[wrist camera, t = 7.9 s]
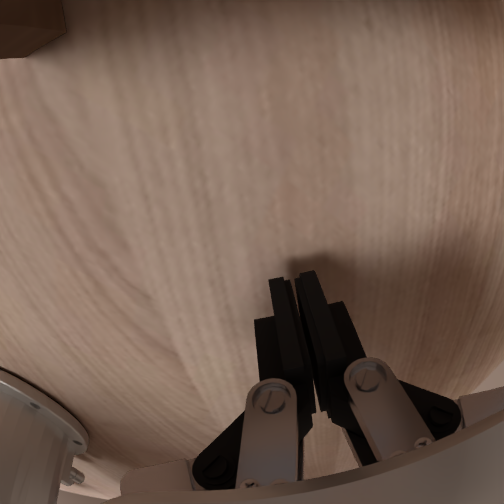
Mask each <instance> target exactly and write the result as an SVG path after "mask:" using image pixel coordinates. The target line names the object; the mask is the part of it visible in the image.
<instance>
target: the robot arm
mask: <svg viewBox="0 0 504 504" xmlns="http://www.w3.org/2000/svg"><path fill="white" fill-rule="evenodd" d="M299 276H300V277H299V278H295V287H296V293H297V300H298V307H299V312H298V308H297V305H296V301H295V297H294V293H293V289H292V286H291V282H290V280H285V281H284V278H283V277H279V278H274V279H270V280H268V281H269V287H270V293H271V299H272V305H273V310H274V316H271V317H265V318H260V319H255V320H254V326H255V337H256V347H257V358H258V368H259V378H260V382H259V383H257V384H256V385H255V386H253V387H252V388H251V390H250V391H249V393H248V395H247V399H246V406H245V411H244V412H243V413H242V414H241V415H240V416H239V417H238V418H237V419H236V420H235V421H234V422H233V423H232V424H231V425H230V426H229V427H228V428H227V429H225V430H224V431H223V432H222V433H221V434H220V435H219V436H218V437H217V438H216V439H215V440H214V441H213V442H212V443H211V444H210V445H209V446H208V447H207V448H205V449H204V450H203V451H202V452H201V453H200V454H199V455H198V456H197V458H194V459H190V460H186V459H181V460H176V461H172V462H168V463H163V464H158V465H153V466H148V467H143V468H137V469H133V470H130V471H128V472H127V473H126V474H125V475H124V476H123V478H122V480H121V484H120V490H121V496H119V497H116V498H113V499H110V500H107V501H105V502H103V503H101V504H504V386H503V387H499V388H496V389H492V390H488V391H483V392H479V393H474V394H469V395H464V396H460V397H459V398H458V399H456V400H451V399H449V398H447V397H444V396H441V395H438V394H436V393H433V392H430V391H427V390H424V389H422V388H419V387H416V386H414V385H411V384H408V383H406V382H403V381H400V380H398V379H397V378H396V376H395V375H394V373H393V372H392V370H391V369H390V367H389V366H388V365H387V364H386V363H385V362H383V361H382V360H380V359H377V358H372V357H369V358H367V357H366V355H365V352H364V350H363V347H362V345H361V342H360V340H359V337H358V335H357V332H356V330H355V328H354V325H353V323H352V321H351V318H350V316H349V313H348V311H347V309H346V306H345V304H344V302H342V301H341V302H336V303H332V304H327V301H326V299H325V296H324V293H323V291H322V288H321V285H320V283H319V280H318V278H317V275H316V272H315V271H314V270H313V271H308V272H304V273H300V274H299ZM299 314H300V316H299ZM313 380H314V384H313ZM314 385H315V389H316V393H317V397H318V402H319V406H320V410H321V412H323V411H327V414H328V418H331V420H332V422H333V423H335V424H337V425H339V426H341V427H342V431H343V433H344V435H345V437H346V440H347V442H348V444H349V446H350V448H351V451H352V453H353V455H354V457H355V459H356V462H357V464H358V466H359V468H356V469H353V470H349V471H345V472H341V473H336V474H332V475H328V476H323V477H318V478H313V479H308V480H304V437H305V436H306V434H307V433H308V432H309V431H310V429H311V428H312V427H313V423H312V414H314V413H316V405H315V394H314ZM88 443H89V437H88V434H87V432H86V430H85V429H84V427H83V426H82V425H81V424H80V423H79V421H78V420H77V419H75V418H74V417H73V416H72V415H71V414H70V413H69V412H68V411H66V410H65V409H64V408H63V407H61V406H60V405H59V404H58V403H56V402H55V401H53V400H52V399H50V398H49V397H48V396H46V395H45V394H43V393H42V392H40V391H38V390H37V389H35V388H34V387H32V386H31V385H29V384H27V383H25V382H24V381H22V380H20V379H18V378H17V377H15V376H13V375H11V374H9V373H7V372H5V371H2V370H0V504H57V498H58V493H59V488H60V483H62V484H64V485H66V486H71V485H72V484H73V483H74V482H76V483H78V484H80V483H82V482H84V479H85V476H84V474H83V473H82V472H80V471H79V470H77V469H76V468H74V467H72V463H73V459H74V455H79V454H82V453H84V452H85V451H86V450H87V447H88Z"/></svg>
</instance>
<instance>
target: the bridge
mask: <svg viewBox="0 0 504 504" xmlns="http://www.w3.org/2000/svg"><path fill="white" fill-rule="evenodd" d="M66 32H67V31H66V26H65V20H64V15H63V9H62V2H61V0H0V59H7V58H24V57H25V56H27V55H28V54H30V53H32V52H33V51H35V50H36V49H38V48H40V47H41V46H43V45H45V44H46V43H48V42H50V41H52V40H53V39H55V38H57V37H59V36H61V35H63V34H64V33H66Z"/></svg>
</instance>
